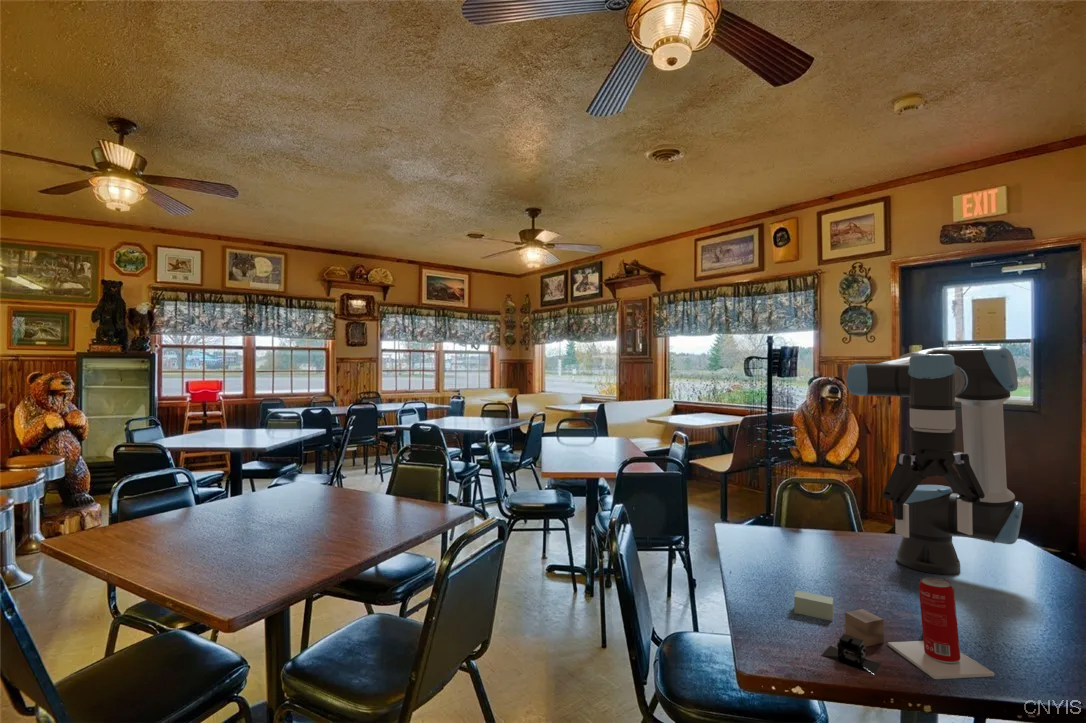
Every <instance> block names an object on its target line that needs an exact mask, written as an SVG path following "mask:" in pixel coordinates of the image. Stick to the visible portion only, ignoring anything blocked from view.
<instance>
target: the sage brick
mask: <svg viewBox="0 0 1086 723" xmlns="http://www.w3.org/2000/svg"><path fill="white" fill-rule="evenodd" d="M794 592H795V593H794V596H793V597H794V598H793V600H794V604H793V605H794V606H793V609H794V611H793V612H794V613H795V614H800V615H802V616H807V617H812V618H813V617H814V618H817V619H822V620H827V621H834V597H831V596H826V595H821V594H817V593H810V592H806V591H801V590H798V589H797V590H795V591H794Z"/></svg>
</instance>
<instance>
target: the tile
mask: <svg viewBox="0 0 1086 723" xmlns="http://www.w3.org/2000/svg"><path fill="white" fill-rule="evenodd" d="M887 646H889V648H891V649H893V650H894V651H895V652H896V653H897V654H899V655H901V656H902V657H903V658H904V659H906V660H907V661H908V662H910V663H912V664H913V665H915V666H916V668H918V669H920V670H921V671H923V672H924V673H925V674H927V675H928V676H929V677H931V678H932V679H934V680H943V679H944V680H946V679H947V680H949V679H964V678H965V679H966V678H968V679H969V678H985V677H988V678H989V677H995V672H993V671H992V670H990V668H987V667H986V666H984V665H983V664H981V663H979V662H977V661H976V660H974V659H973V658H971V657H969V656H967V655H966V654H965V653H963V652H961V651H960V660H959V661H958V662H956V663H944V662H939V661H936V660H934V659H932V658H930V657H929V656H928V655H927V654H926V653H925V651H924V640H914V641H911V640H910V641H891V642H890V641H888V642H887Z"/></svg>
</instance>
